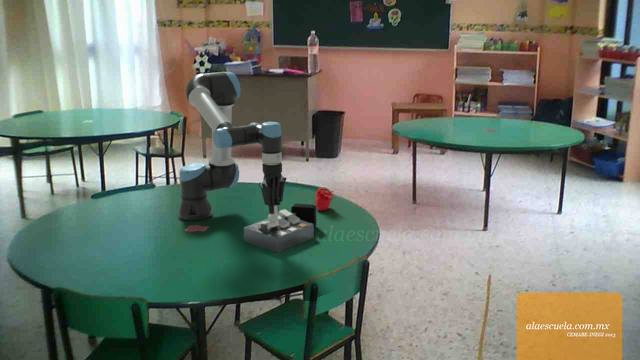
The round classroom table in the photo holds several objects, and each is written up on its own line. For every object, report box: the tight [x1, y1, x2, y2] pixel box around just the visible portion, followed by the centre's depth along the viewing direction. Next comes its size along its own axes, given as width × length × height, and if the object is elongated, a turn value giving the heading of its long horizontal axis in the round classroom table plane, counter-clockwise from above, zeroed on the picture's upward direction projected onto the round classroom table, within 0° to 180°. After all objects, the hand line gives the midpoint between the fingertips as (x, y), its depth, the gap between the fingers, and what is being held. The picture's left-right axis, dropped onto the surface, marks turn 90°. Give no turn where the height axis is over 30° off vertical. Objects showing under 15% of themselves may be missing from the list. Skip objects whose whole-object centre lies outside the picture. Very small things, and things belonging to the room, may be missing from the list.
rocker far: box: [278, 208, 300, 224], centre depth 258 cm, size 9×3×2 cm, turn 49°
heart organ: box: [314, 186, 336, 212], centre depth 291 cm, size 10×12×12 cm
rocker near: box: [257, 221, 279, 228], centre depth 249 cm, size 9×3×2 cm, turn 48°
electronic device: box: [290, 203, 317, 230], centre depth 267 cm, size 4×10×10 cm, turn 78°
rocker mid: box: [267, 214, 290, 228], centre depth 254 cm, size 9×3×2 cm, turn 49°
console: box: [243, 213, 315, 254], centre depth 255 cm, size 19×21×9 cm
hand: (274, 220), depth 246 cm, fingers closed
